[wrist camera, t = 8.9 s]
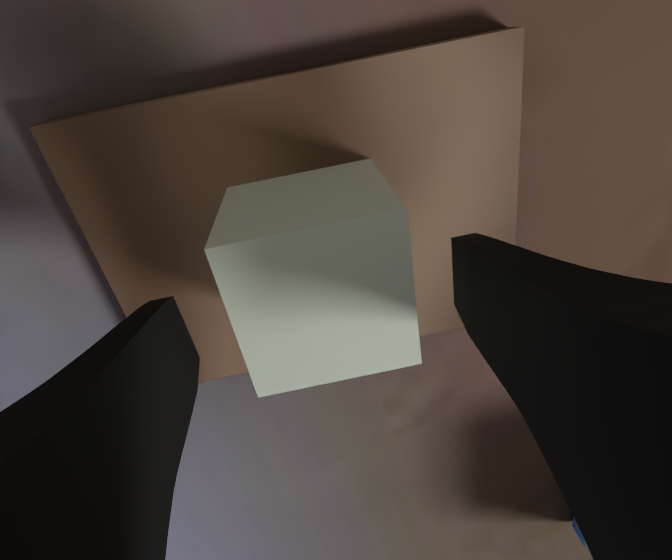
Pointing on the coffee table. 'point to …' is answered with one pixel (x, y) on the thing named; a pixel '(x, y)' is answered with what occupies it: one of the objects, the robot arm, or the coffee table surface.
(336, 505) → the coffee table surface
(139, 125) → the walnut board
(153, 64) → the coffee table surface
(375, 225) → the sage cube
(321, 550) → the coffee table surface
